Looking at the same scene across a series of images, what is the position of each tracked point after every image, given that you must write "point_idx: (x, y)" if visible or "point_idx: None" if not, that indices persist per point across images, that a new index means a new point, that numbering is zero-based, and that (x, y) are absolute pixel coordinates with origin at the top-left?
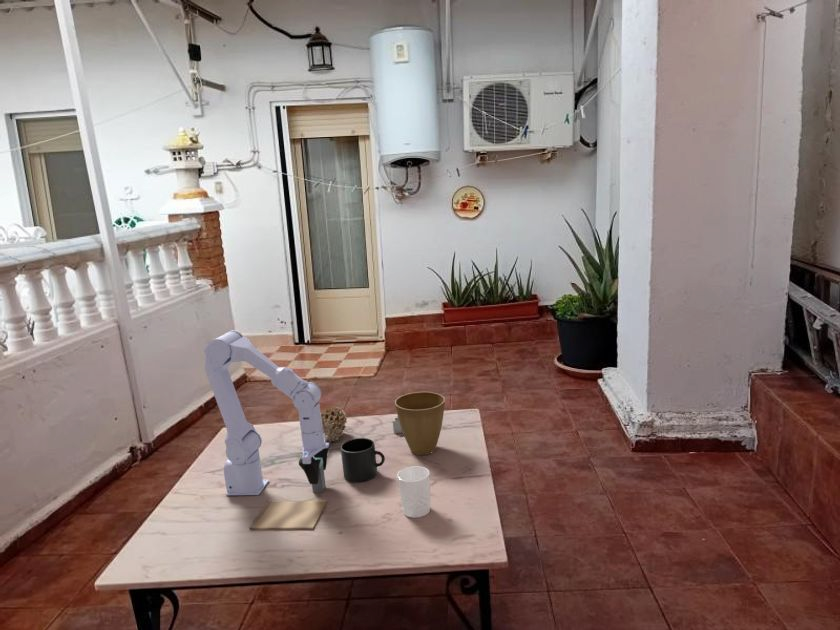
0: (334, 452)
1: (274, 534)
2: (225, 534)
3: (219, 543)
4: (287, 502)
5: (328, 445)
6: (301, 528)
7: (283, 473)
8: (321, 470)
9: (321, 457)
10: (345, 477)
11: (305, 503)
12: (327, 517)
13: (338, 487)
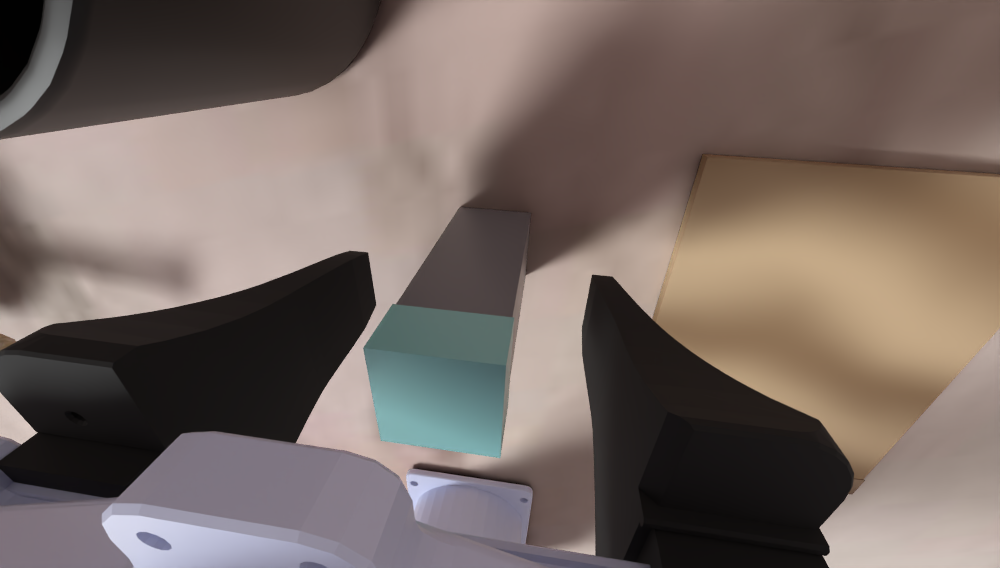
0: (35, 232)
1: (977, 393)
2: (833, 540)
3: (902, 549)
4: None
5: (256, 482)
6: None
7: (334, 428)
8: (480, 288)
9: (299, 342)
10: (343, 64)
11: (693, 297)
12: (963, 97)
13: (470, 105)
